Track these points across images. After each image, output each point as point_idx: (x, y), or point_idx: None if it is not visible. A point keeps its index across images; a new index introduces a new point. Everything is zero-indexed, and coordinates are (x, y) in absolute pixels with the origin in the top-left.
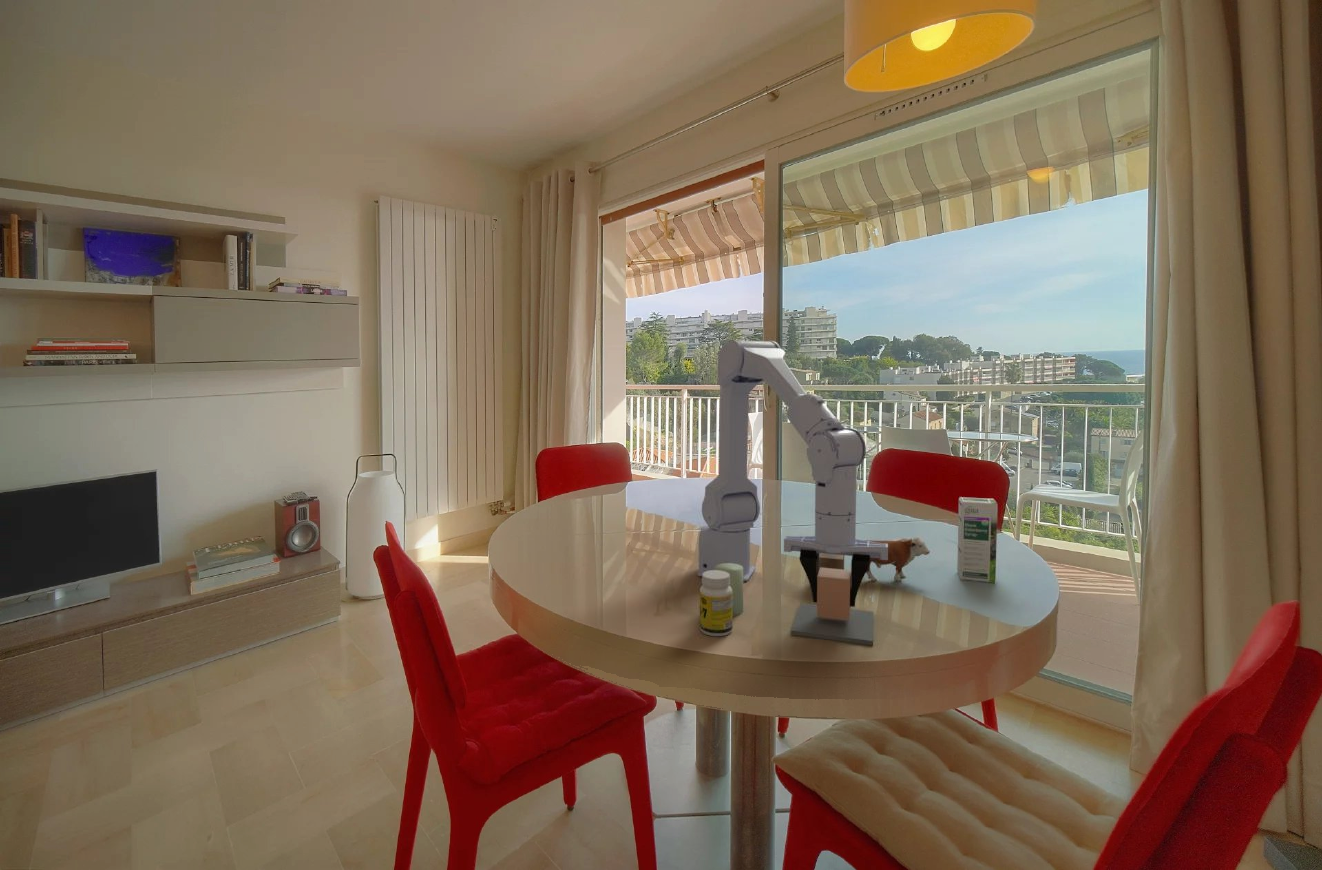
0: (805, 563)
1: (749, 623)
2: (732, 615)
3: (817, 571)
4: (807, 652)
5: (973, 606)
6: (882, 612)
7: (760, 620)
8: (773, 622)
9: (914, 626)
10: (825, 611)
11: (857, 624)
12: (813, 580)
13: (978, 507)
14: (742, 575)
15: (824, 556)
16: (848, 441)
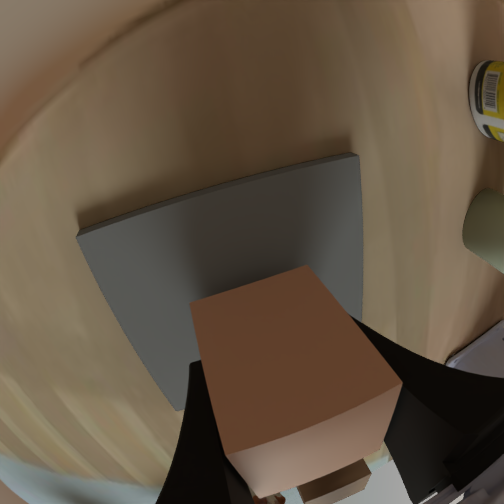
0: (495, 392)
1: (449, 172)
2: (501, 114)
3: (397, 419)
4: (264, 39)
5: (63, 481)
6: (165, 422)
7: (432, 205)
8: (405, 212)
9: (70, 398)
10: (286, 289)
11: (175, 327)
12: (400, 364)
13: None
14: None
15: (346, 487)
16: None
